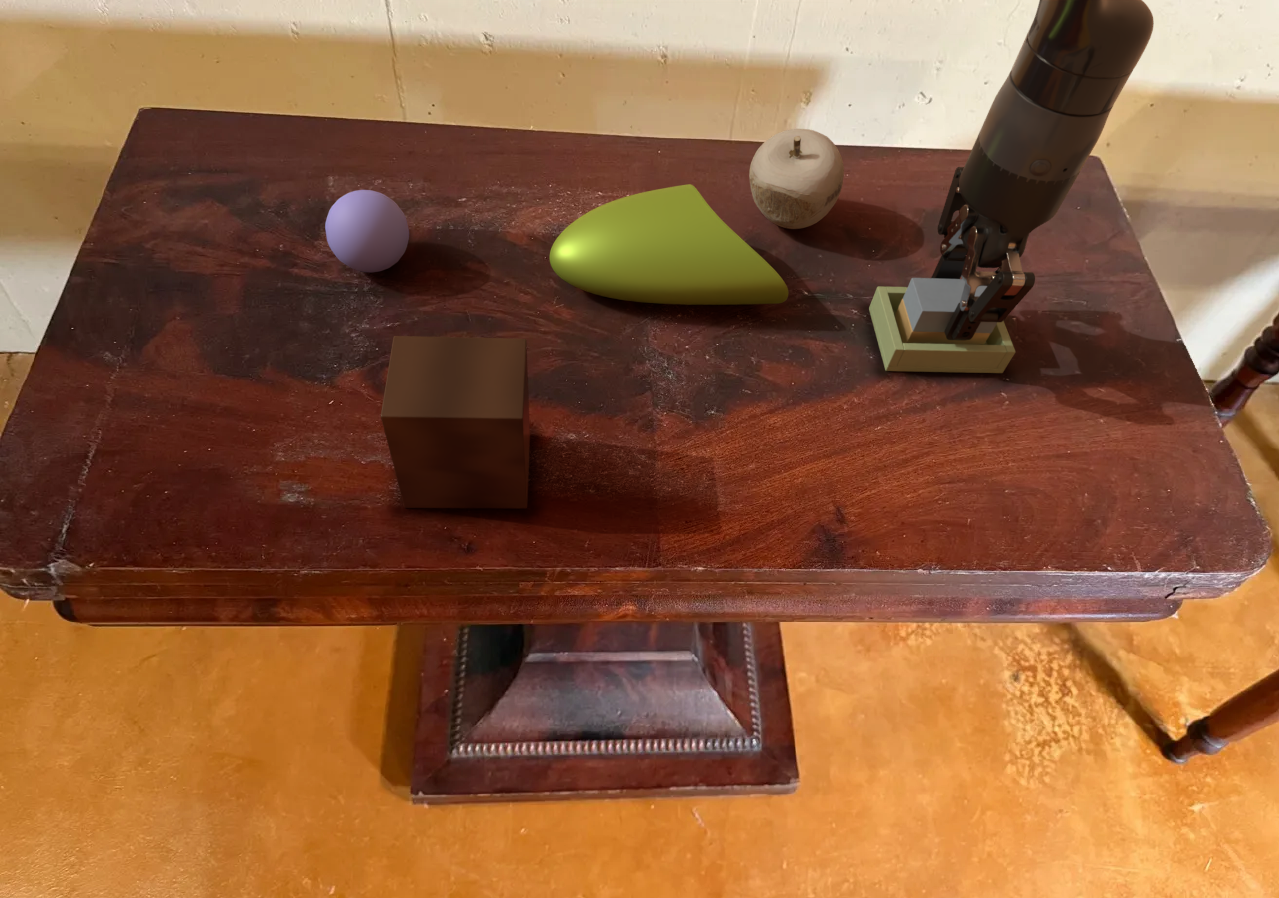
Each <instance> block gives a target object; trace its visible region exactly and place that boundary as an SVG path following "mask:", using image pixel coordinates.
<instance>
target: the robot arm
mask: <svg viewBox="0 0 1279 898" xmlns="http://www.w3.org/2000/svg"><path fill="white" fill-rule="evenodd" d="M1153 31H1154V16H1153V13H1152V11H1151V9H1150V8H1149V6H1148V5H1147V3H1146V2H1145V1H1143V0H1039V1H1038V5H1037V10H1036V12H1035V16H1034V18H1033V21H1032V23H1031V25H1030V27H1029V29H1028V32H1027V34H1026V36H1025V38H1024V40H1023V42H1022V45H1021V47H1020V49H1019V52H1018V54H1017V56H1016V58H1015V60H1014V62H1013V65H1012V67H1011V70H1010V72H1009V74H1008V76H1006V79H1005V81H1004V82H1003V84H1002V85H1001V87H1000V89H998V92H997V94H996V95H995V97H994V99H993V101H992V103H991V106H990V107H989V110H988V112H987V114H986V117H985V119H984V121H983V123H982V125H981V127H980V130H979V132H978V134H977V137H976V139H975V141H974V144H973V146H972V148H971V150H970V153H969V155H968V158H967V159H966V162H965V164H964V166H957V167H956V168H955V171H954V173H953V177H952V180H951V183H950V187H949V189H948V193H947V196H946V198H945V202H944V205H943V208H942V210H941V211H942V212H941V215H940V218H939V221H938V224H937V234H938V235H939V236H943V240H942V241H941V243H940V246H939V252H940V254H941V256H940V258H939V259H938V262H937V263H936V266H935V268H934V271H933V273H932V275H931V277H930V278H939V279H963V280H964V281H965V286H964V289H963V293H962V297H961V300H960V303H958V305H957V307H956V309H955V311H954V313H953V315H952V317H951V319H950V321H949V323H948V325H947V327H946V329H945V331H944V332H945V335H946V338H947V339H948V340H962V341H965V340H970V339H971V338H972V337H973V336H974V334H975V332H976V329H977V328H978V327H979V325H980V323H981V322H1003V321H1005V320H1006V318H1007V317H1008V316H1009V315H1010V314H1011V313H1012V312H1013V310H1014V309H1015V308H1016V307H1017V306H1018V305H1019V303H1020V302H1022V300H1023V299H1024V298H1025V297H1026V295H1027V294H1028V293H1029V292H1030V291H1031V290H1032V289H1033V288H1034V286H1035V283H1036V276H1035V273H1034V272H1032V271H1024V270H1023V267H1022V262H1021V257H1022V256H1023V255H1024V253H1025V250H1026V247H1027V243H1028V239H1029V236H1030V233H1032V231H1034V230H1036V229H1037V228H1039V227H1040V226H1042V225H1043V224H1046V223H1048V222H1049V221H1050V220H1051V219H1053V218H1054V217H1055V216H1056V214H1057V213H1058V212H1059V210H1060V208H1061V206H1062V204H1063V202H1064V201H1065V199H1066V197H1067V196H1068V194H1069V193H1070V190H1071V188H1072V187H1073V185H1074V184H1075V182H1076V180H1077V178H1078V177H1079V175H1080V172H1081V171H1082V169H1083V167H1084V166H1085V164H1086V162H1087V160H1088V159H1089V157H1090V156H1091V153H1092V152H1093V151H1094V148H1095V147H1096V145H1097V144H1098V141H1099V140H1100V137H1101V135H1102V133H1103V130H1104V129H1105V126H1106V123H1107V122H1108V121H1107V120H1108V119H1109V115H1110V113H1111V112H1112V109H1113V107H1114V105H1115V103H1116V101H1117V100H1118V98H1119V96H1120V94H1121V92H1122V91H1123V89H1124V88H1125V85H1126V84H1127V82H1128V80H1129V78H1130V77H1131V75H1132V73H1133V71H1134V69H1135V68H1136V66H1137V65H1138V64H1139V62H1140V59H1141V58H1142V56H1143V54H1144V52H1145V50H1146V49H1147V47H1148V45H1149V42H1150V39H1151V38H1152V34H1153ZM956 212H958V215H957V216H956V218H955V219H954V220H953V217H954V214H955V213H956ZM977 268H981V269H995V270H994V271H979V270H977ZM979 286H987V288H986V289H985V290H984V291H983V293H982V294H981V295H980V296H975V292H976V289H977V287H979Z"/></svg>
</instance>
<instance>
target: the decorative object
mask: <svg viewBox="0 0 1279 898" xmlns="http://www.w3.org/2000/svg"><path fill="white" fill-rule="evenodd" d="M754 153H755V154H754V155H753V157H752V160H751V162H750V166H749V170H748V171H749V177H748V179H749V186H750V191H751V195H752V199H753V201H754V203H755V205H756V207H757V209H758V210H759V211H760V213H761V214H762V215H763V216H764V218H766V220H768V221H769V222H771V223H772V224H773V225H776V226H778V227H781V228H784V229H789V230H798V229H804V228H808V227H812V226H813V225H815V224H817V223H818V222H819V221H821V220H823V218H824V217H826V216H827V215H828V214H829V213H830V211H831V210H832V208H833V207H834V206H835V204H836V203H837V201H838V199H839V197H840V194H841V192H842V187H843V184H844V178H845V166H844V165H845V164H844V161H843V157H842V155H841V153H840V150H839V148H838V147H837V146H836V144H835V143H834V142H833V141H832V140H831V139H830V138H829V136H827V135H825V134H823V133H821V132H819V131H816V130H814V129H808V128H790V129H786V130H783V131H780V132H777V133H775V134H774V135H771V137H769V138H767V140H765V141H764V142H763V143H762V144H761V145H760V146H759V147H758V149H757V150H756V152H754Z"/></svg>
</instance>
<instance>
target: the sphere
mask: <svg viewBox="0 0 1279 898" xmlns="http://www.w3.org/2000/svg"><path fill="white" fill-rule="evenodd" d="M324 224H325V226H324V228H325V236H326V242H327V244H328V247H329V249H330V250H331V252H332V253H333V254H334V256H335V257H336V258H337V260H338V261H339V262H341V264H344V265H345V266H347V267H349V268H350V269H352V270H355V271H358V272H361V273H378V272H382V271H385V270H387V269H390V268H391V267H393V266H394V265H396V264H397V263H399V261H400V260H401V258H403V256H404V254H405V253H406V252H407V251H406V250H407V248H408V245H409V240H410V229H409V225H408V220H407V217H406V215H405V213H404V212H403V210H402V209H401V207H400V206H399V205H398V204H397V203H396V201H394V199H392V198H391V197H389V196H387V195H385V194H383V193H381V192H379V191H375V190H371V189H359V190H353V191H350V192H348V193H347V192H346V193H345V194H343V195H342V196H341V197H339V198H338V199H337V200H336V201H335V202H334V204H333V205H331V207H330V209H329V211H328V213H327V217H326V220H325V223H324Z"/></svg>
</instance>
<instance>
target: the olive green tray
mask: <svg viewBox="0 0 1279 898" xmlns="http://www.w3.org/2000/svg"><path fill="white" fill-rule="evenodd" d="M907 288H908V286H879V285H878V286H877V287H876V289H875V291H874V295H873V297H872V300H871V302H870V305H869V307H868V311H869V314H870V318H871V322H872V326H873V329H874V333H875V337H876V341H877V344H878V348H879V351H880V355H881V359H882V363H883V366H884V370H885V372H915V373H916V372H917V373H918V372H919V373H920V372H922V373H923V372H924V373H968V374H969V373H971V374H973V373H975V374H978V373H979V374H1003V373H1004V371H1005V370H1006V368H1007V367H1008V365H1009V363H1010V361H1011V360H1012V359H1013V357H1014V356H1015V354H1016V349H1015V347H1014V344H1013V341H1012V339H1011V336H1010V334H1009V332H1008V329H1007V326H1006V323H1005V320H1003V322H997V324H996V326H995V328H994V329H993V331H992V333H990V335H989V337H988V339H987V340H986V342H985V344H984V345H968V344H921V343H903V344H902V340H901V337H900V334H899V330H898V327H897V323H896V320H895V314H896V312H897V309H898V307H899V305H900V303H901V300H902V299H903V297H904V295H905V292H906V290H907Z"/></svg>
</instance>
